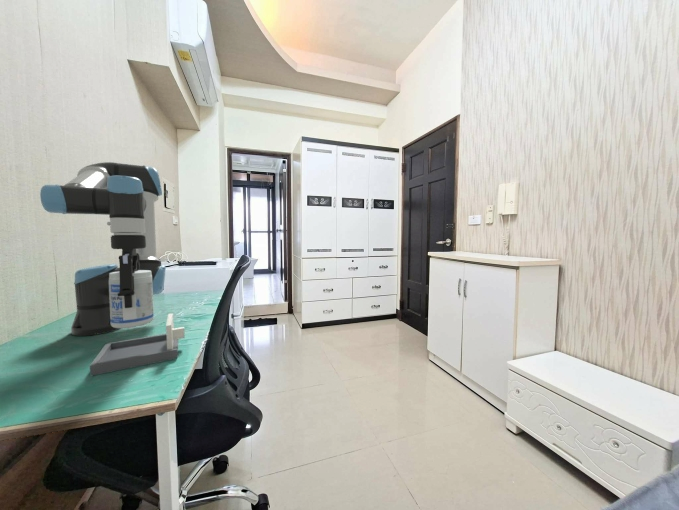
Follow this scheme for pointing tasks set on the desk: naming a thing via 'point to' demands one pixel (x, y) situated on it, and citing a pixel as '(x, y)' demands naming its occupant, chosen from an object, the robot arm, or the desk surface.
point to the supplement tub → (142, 295)
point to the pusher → (173, 332)
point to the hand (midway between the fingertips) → (133, 314)
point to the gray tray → (133, 354)
